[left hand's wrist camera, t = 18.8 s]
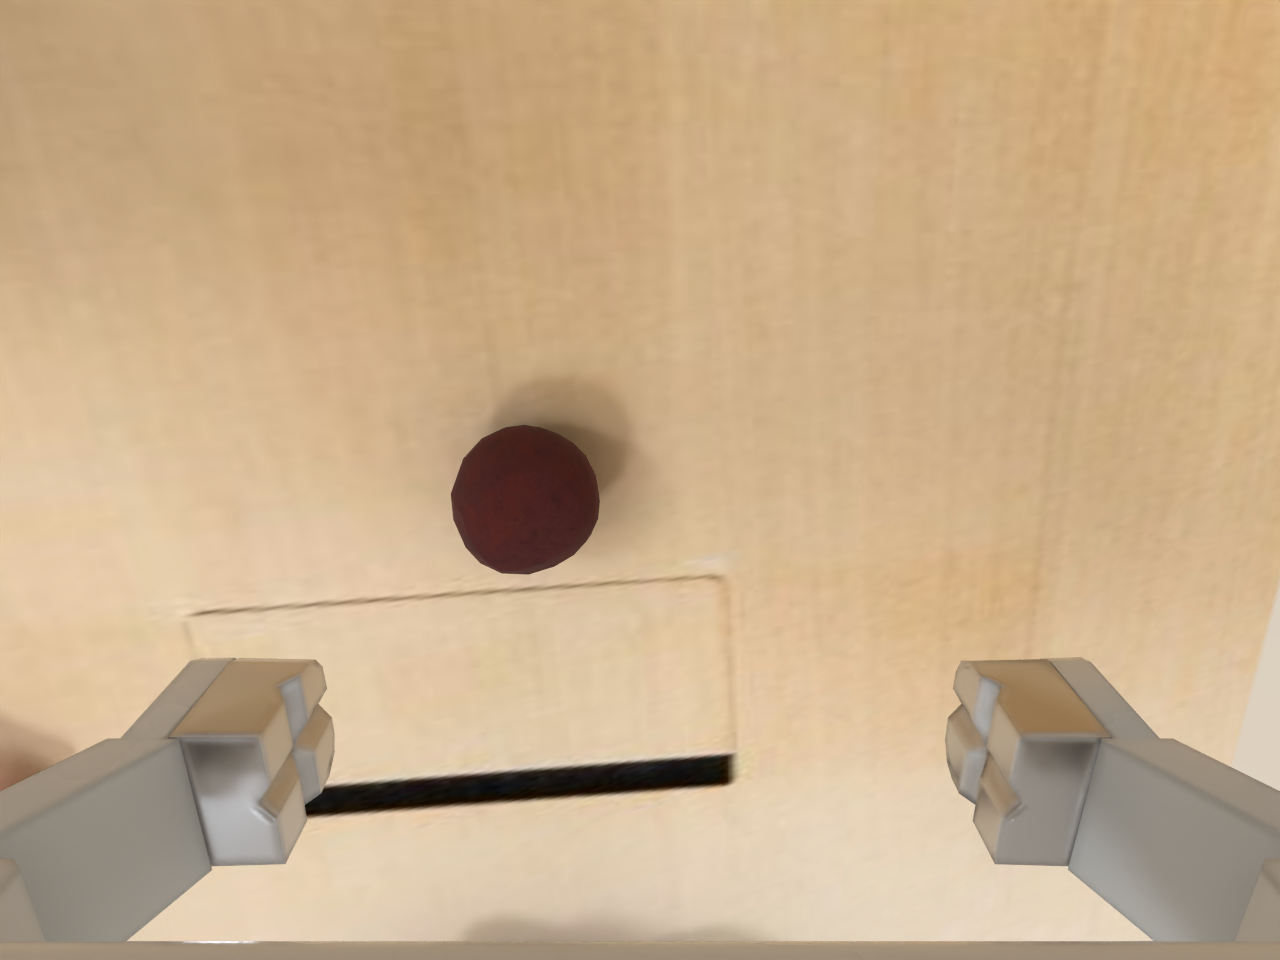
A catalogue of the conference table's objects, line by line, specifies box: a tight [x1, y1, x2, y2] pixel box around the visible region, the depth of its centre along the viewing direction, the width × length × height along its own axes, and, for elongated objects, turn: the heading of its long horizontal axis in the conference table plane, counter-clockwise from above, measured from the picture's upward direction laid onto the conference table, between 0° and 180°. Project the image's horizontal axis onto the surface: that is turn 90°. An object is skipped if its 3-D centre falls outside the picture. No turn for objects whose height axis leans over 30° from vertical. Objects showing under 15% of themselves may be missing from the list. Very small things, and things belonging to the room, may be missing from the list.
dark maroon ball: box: [451, 425, 600, 574], centre depth 42 cm, size 7×8×7 cm
